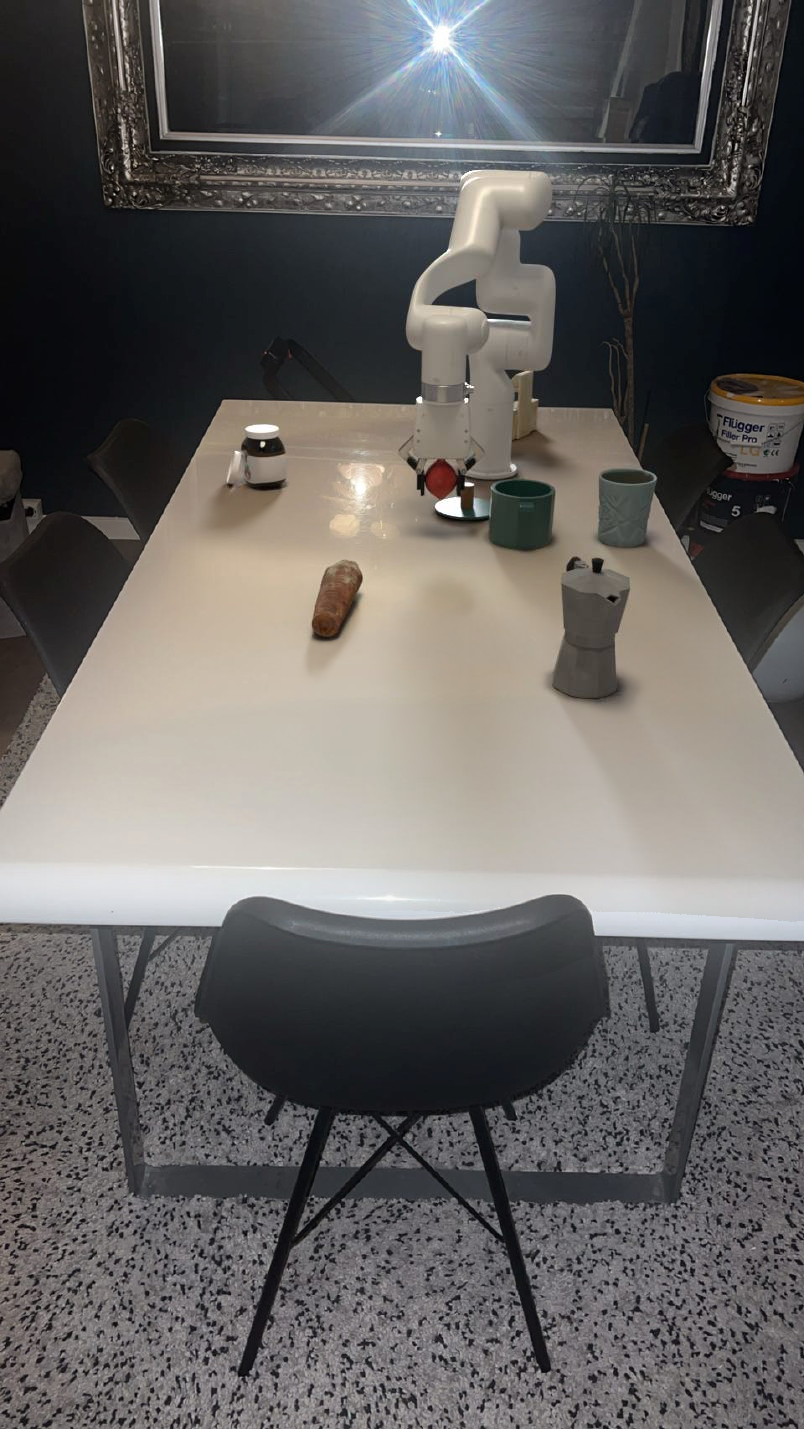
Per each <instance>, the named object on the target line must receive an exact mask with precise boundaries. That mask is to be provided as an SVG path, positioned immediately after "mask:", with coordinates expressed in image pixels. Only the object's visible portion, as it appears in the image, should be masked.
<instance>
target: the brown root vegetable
mask: <svg viewBox="0 0 804 1429" xmlns="http://www.w3.org/2000/svg"><path fill="white" fill-rule="evenodd" d="M359 566H360V565H359V563H357V562H356V561H355V560H354V561H353V560H348V559H341V560H340V561H338V562H336V563H334V564H332V565H329V566H328V567H326V569H325V571H324V573H323V575H322V579H321V582H320V586H319V590H318V594H317V597H316V601H315V605H314V609H313V616H312V620H311V628H312V630H313V632H314V633H316V634H317V635H319V636H321V637H324V638H329V637H333V636H335V635H336V634H337V633H338V631H339V629H340V626H341V624H342V623H343V621H344V620H345V617H346V616H347V614H348V611H349V609H350V607H351V605H352V603H353V601H354V600H355V597H356V596H357V593H358V592H359V590H360V588H361V586H362V584H363V580H364V576H363V572H362V570H361V569H360V567H359Z"/></svg>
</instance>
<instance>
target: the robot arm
mask: <svg viewBox="0 0 804 1429" xmlns="http://www.w3.org/2000/svg"><path fill="white" fill-rule="evenodd" d="M458 188H459V189H458V190H459V197H458V201H457V206H456V209H455V210H456V211H455V214H454V219H453V223H452V228H451V234H450V237H449V243H448V248H447V251H446V252H444V253H443V254H442V255H440V256H439V257H438V258H437V259H435V260H434V261H433V262H432V263H431V264H430V265H429V266H428V267H427V268H426V269H425V270H424V272H423V273H422V274H421V275H420V276H419V278H418V280H417V281H416V283H415V285H414V288H413V289H412V294H411V296H410V297H411V298H410V302H409V306H408V307H409V308H408V312H407V315H406V322H405V336H406V340H407V343H408V345H410V347H411V348H413V349H414V350H418V351H421V378H420V379H421V381H420V382H421V383H420V384H421V386H420V394H421V395H420V396H419V397H417V398H416V401H415V407H414V414H413V427H412V428H413V429H412V435H411V436H410V438H408V439H407V441H405V442H404V443H403V445H401V447H399V448H398V450H397V454H398V456H399V457H400V458H401V459H402V460H404V461H405V462H406V463H407V465H408V466H409V467H410V468H411V469H412V470H413V471H414V472H415V474H416V491H420V497H424V496H425V494H426V493H425V490H426V486H425V473H426V470H425V468H424V467H425V466H426V463H427V461H428V460H438V459H445V460H455V462H456V464H457V470H456V475H457V484H456V487H455V494H456V496H457V497H461V490H465V483H466V477H468V478H473V479H478V480H490V481H491V480H505V479H509V478H511V477H514V476H515V475H517V473H518V472H517V470H518V467H517V465H516V464H515V463H512V462H511V456H512V442H513V440H512V426H513V411H514V402H515V393H516V392H514V387H513V384H512V382H511V379H510V377H509V375H508V374H507V372H506V371H507V370H513V371H514V370H515V371H533V372H540V371H544V370H545V369H546V368H547V367H548V366H549V364H550V362H551V359H552V353H553V343H554V328H555V312H556V294H557V293H556V290H557V288H556V287H557V286H556V278H555V273H554V272H553V270H552V269H551V268H550V267H548V266H547V265H542V264H534V263H533V264H532V263H531V264H530V263H522V262H521V260H520V258H521V257H520V256H521V255H520V254H521V234H520V231H525V232H526V231H533V230H534V229H536V228H537V227H538V226H539V225H540V224H542V223H543V221H544V220H545V219H546V218H547V216H548V215H549V212H550V211H551V206H552V200H553V184H552V181H551V179H550V176H549V175H548V174H547V173H545V172H543V171H535V170H507V169H504V170H503V169H479V170H472V171H469V172H467V173H465V174H464V175H463V176H461V179H460V182H459V187H458ZM474 280H475V298H476V300H475V301H476V304H477V306H478V308H479V309H478V308H475V307H465V306H452V305H435V304H433V302H435V301H436V299H437V298H438V297H439V296H440V295H442V294H444V293H445V292H447V291H448V290H451V289H453V288H456V287H459V286H461V285H464V284H466V283H469V282H472V281H474ZM485 313H488V314H495V315H512V316H526V317H527V318H529V321H527V320H526V321H525V320H513V319H497V318H495V319H493V318H491V319H490V318H489V319H488V317H487V315H486V314H485ZM467 356H468V361H469V362H468V364H469V384H468V383H467V382H466V377H467V376H466V375H467V374H466V373H467ZM505 370H506V371H505ZM468 395H469V398H468V397H466V396H468ZM410 450H413V455H411V454H410V452H409V451H410ZM414 456H415V457H416V458H417V459H416V458H415V457H414Z"/></svg>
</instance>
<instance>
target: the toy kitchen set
mask: <svg viewBox="0 0 804 1429" xmlns="http://www.w3.org/2000/svg"><path fill="white" fill-rule="evenodd" d="M510 380H511V382H512V384H513V387H514V393H517V400H516V401H514V411H513V426H512V441H514V440H519V439H522V438H523V437H526V436H528V435H530V434H531V433H532V432H533V431H535V430H537V427H538V414H539V413H538V412H539V399H538V398H533V384H534V383H533V382H534V371H526V370H523V371H522V372H519V373H517V374H514V376H513V377H512V378H511V379H510Z"/></svg>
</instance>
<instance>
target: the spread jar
mask: <svg viewBox="0 0 804 1429" xmlns="http://www.w3.org/2000/svg"><path fill="white" fill-rule="evenodd" d="M244 431H245V438H244V439H243V441H242V443H241V448H240V451H237V450H234V451H233V453H232V456H231V460H230V463H229V467H228V471H227V477H226V483H227V484H230V485H235V483H236V480H237V476H238V473H239V469H240V466H241V470H242V475H243V476H242V477H243V478H244V481H245V482H246V484H247V485H248V486H249V487H250V488H252V489H258V490H271V489H276V488H278V487H280V486H282V485H283V484H284V483H285V482H286V480H287V477H288V476H287V474H288V469H287V453H286V452H287V451H286V447H285V445H284V443H283V441H282V440H281V438H280V437H279V436H280V429H279V427H278V426H277V425H273V424H252V425H248V426H247V427H245V430H244Z"/></svg>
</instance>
